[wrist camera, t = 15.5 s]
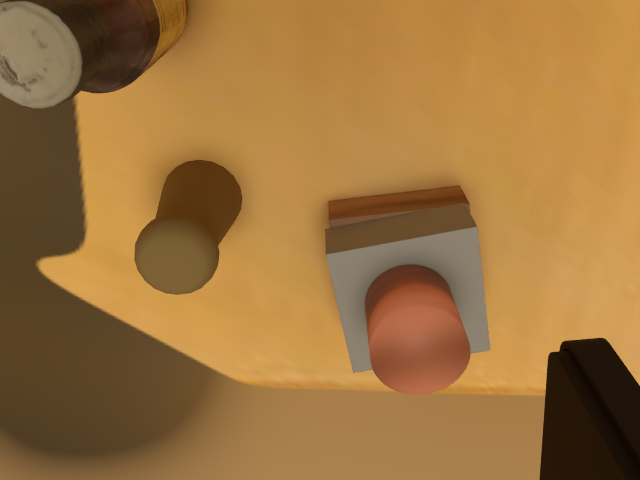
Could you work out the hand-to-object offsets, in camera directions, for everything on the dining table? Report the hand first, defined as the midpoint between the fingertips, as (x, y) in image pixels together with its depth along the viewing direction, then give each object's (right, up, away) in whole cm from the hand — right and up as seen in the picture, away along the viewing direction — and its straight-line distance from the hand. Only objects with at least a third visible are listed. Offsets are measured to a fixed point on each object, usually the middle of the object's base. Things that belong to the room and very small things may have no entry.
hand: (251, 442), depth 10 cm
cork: (-8, +6, +38) cm, 39 cm away
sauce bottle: (-10, +19, +31) cm, 38 cm away
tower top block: (+7, 0, +36) cm, 37 cm away
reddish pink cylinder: (+7, -1, +33) cm, 34 cm away
